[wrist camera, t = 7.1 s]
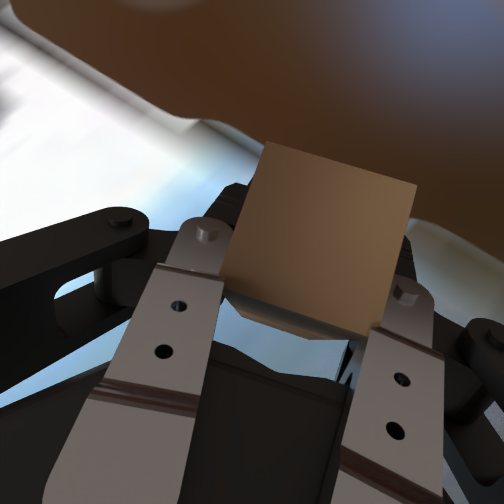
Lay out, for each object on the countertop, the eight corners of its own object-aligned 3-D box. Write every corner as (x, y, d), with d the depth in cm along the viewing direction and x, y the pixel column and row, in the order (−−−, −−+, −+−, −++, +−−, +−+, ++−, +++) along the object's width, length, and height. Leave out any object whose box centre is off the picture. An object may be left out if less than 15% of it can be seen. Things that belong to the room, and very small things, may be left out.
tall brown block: (328, 273, 17) (417, 185, 7) (308, 339, 17) (376, 339, 7) (263, 252, 17) (266, 140, 8) (241, 316, 17) (214, 285, 7)
